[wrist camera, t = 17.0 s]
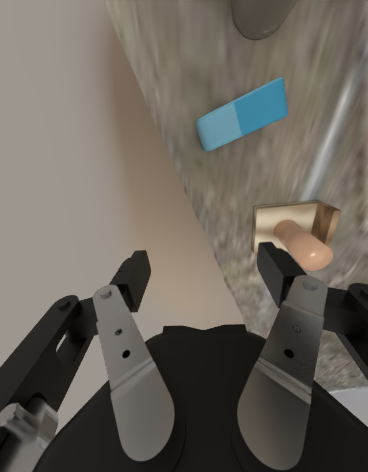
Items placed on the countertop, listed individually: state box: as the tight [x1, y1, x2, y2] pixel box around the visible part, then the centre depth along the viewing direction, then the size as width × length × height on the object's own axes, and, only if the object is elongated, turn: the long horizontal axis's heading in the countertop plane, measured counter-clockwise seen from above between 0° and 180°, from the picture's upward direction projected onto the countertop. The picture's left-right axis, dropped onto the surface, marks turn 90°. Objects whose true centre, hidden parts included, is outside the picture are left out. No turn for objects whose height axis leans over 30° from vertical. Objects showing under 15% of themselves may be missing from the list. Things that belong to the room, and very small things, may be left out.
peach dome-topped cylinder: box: [274, 220, 333, 270], centre depth 36 cm, size 5×5×12 cm
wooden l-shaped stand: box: [252, 200, 341, 253], centre depth 40 cm, size 12×14×7 cm
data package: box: [197, 77, 288, 152], centre depth 29 cm, size 12×4×12 cm, turn 113°
